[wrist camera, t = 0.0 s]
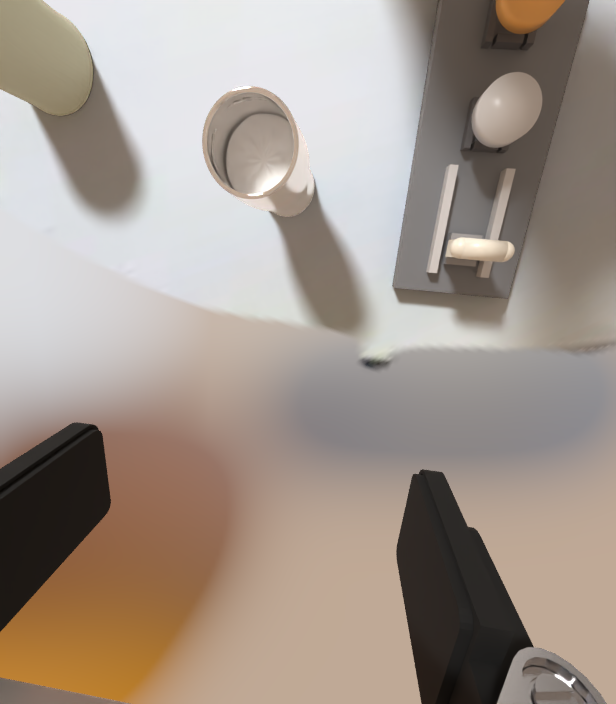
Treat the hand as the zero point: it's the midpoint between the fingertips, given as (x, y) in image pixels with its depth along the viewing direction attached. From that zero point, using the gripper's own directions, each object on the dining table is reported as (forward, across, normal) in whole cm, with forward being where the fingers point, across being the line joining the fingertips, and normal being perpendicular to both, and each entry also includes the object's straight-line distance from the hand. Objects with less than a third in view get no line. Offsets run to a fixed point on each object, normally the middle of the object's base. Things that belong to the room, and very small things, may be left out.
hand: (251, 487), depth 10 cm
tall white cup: (+31, +5, -13) cm, 34 cm away
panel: (+31, -14, -17) cm, 38 cm away
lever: (+29, -14, -8) cm, 33 cm away
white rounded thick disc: (+27, -14, -19) cm, 36 cm away
